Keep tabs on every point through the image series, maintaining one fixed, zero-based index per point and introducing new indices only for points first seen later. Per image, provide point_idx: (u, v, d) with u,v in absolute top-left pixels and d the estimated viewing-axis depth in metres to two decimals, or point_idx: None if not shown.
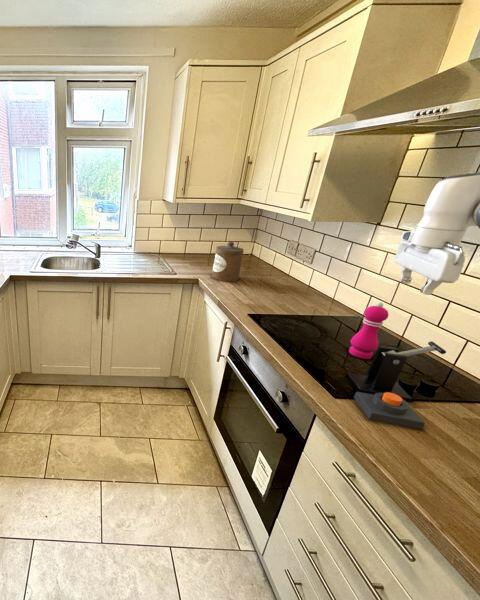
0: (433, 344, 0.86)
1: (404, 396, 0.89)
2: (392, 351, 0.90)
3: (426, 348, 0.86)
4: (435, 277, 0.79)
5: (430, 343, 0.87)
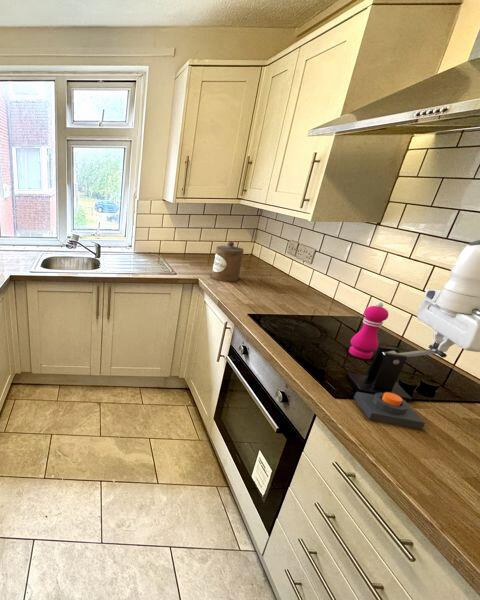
0: (434, 347, 0.87)
1: (404, 396, 0.89)
2: (393, 351, 0.90)
3: (427, 351, 0.87)
4: (463, 345, 0.77)
5: (431, 346, 0.88)
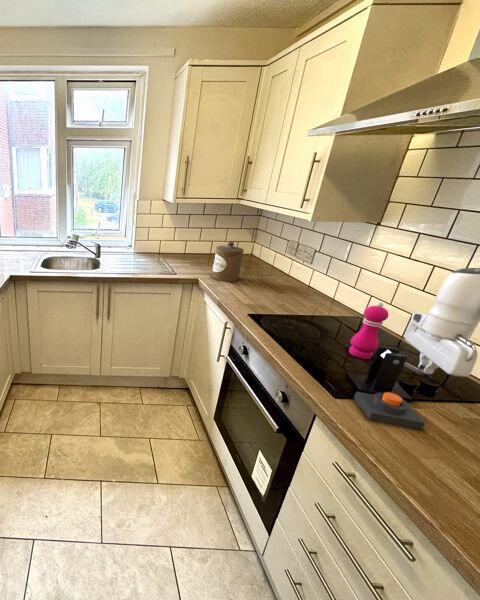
0: None
1: (404, 396, 0.89)
2: None
3: (419, 369, 0.89)
4: (447, 369, 0.79)
5: (420, 369, 0.90)
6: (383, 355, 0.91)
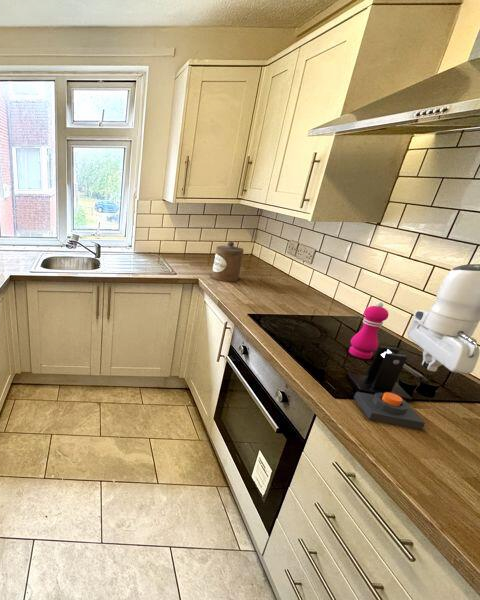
0: (420, 374, 0.90)
1: (404, 396, 0.89)
2: None
3: (416, 372, 0.89)
4: (449, 366, 0.79)
5: (417, 372, 0.91)
6: (383, 354, 0.91)
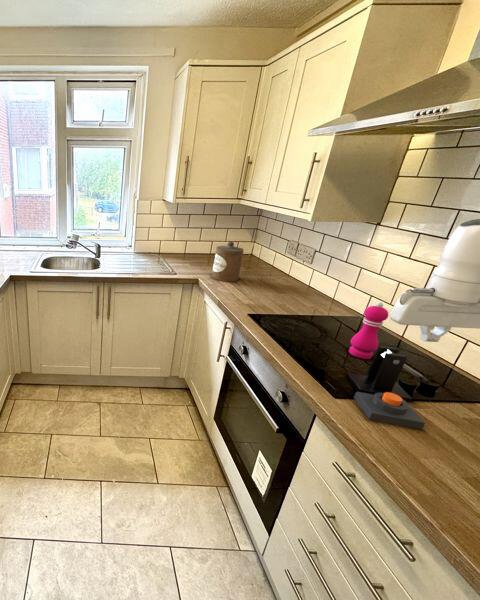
0: (420, 374, 0.90)
1: (404, 396, 0.89)
2: None
3: (416, 372, 0.89)
4: None
5: (417, 372, 0.91)
6: (383, 354, 0.91)
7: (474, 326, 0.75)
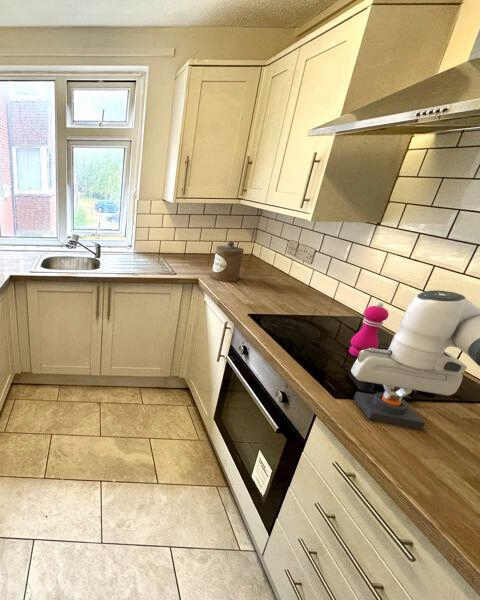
0: None
1: (404, 396, 0.89)
2: None
3: None
4: None
5: None
6: None
7: (436, 391, 0.77)
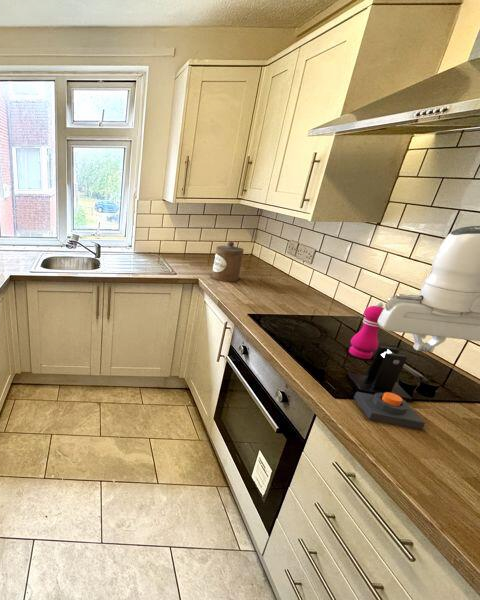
0: (420, 374, 0.90)
1: (404, 396, 0.89)
2: None
3: (416, 372, 0.89)
4: None
5: (417, 372, 0.91)
6: (383, 354, 0.91)
7: (472, 338, 0.72)
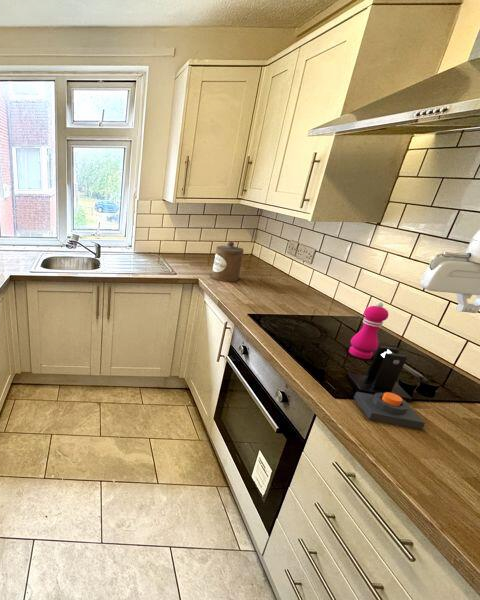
0: (420, 374, 0.90)
1: (404, 396, 0.89)
2: None
3: (416, 372, 0.89)
4: None
5: (417, 372, 0.91)
6: (383, 354, 0.91)
7: None
